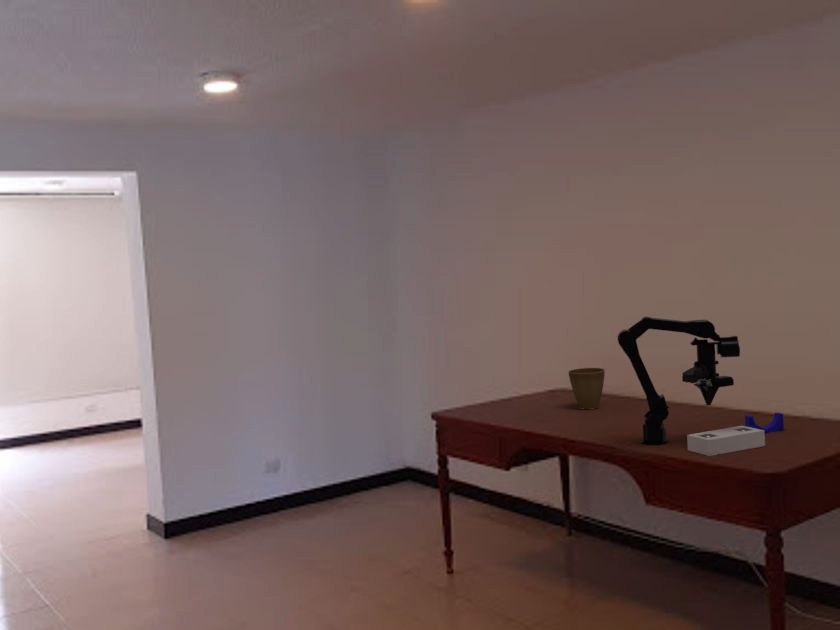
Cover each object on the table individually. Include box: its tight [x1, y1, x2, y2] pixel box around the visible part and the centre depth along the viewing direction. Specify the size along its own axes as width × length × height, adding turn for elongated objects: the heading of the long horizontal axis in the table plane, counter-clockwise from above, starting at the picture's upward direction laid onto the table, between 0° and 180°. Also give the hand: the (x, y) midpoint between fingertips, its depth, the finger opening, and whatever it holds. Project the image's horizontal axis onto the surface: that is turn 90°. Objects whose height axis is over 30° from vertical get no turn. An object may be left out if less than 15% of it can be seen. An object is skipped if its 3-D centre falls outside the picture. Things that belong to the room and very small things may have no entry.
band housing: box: [686, 425, 766, 457], centre depth 273 cm, size 10×22×5 cm, turn 112°
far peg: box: [736, 428, 750, 432], centre depth 275 cm, size 4×4×5 cm
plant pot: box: [567, 367, 606, 409], centre depth 357 cm, size 15×15×16 cm
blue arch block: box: [744, 412, 785, 434], centre depth 292 cm, size 12×4×6 cm, turn 94°
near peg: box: [701, 434, 715, 438], centre depth 270 cm, size 4×4×5 cm
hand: (708, 405), depth 283 cm, fingers closed
